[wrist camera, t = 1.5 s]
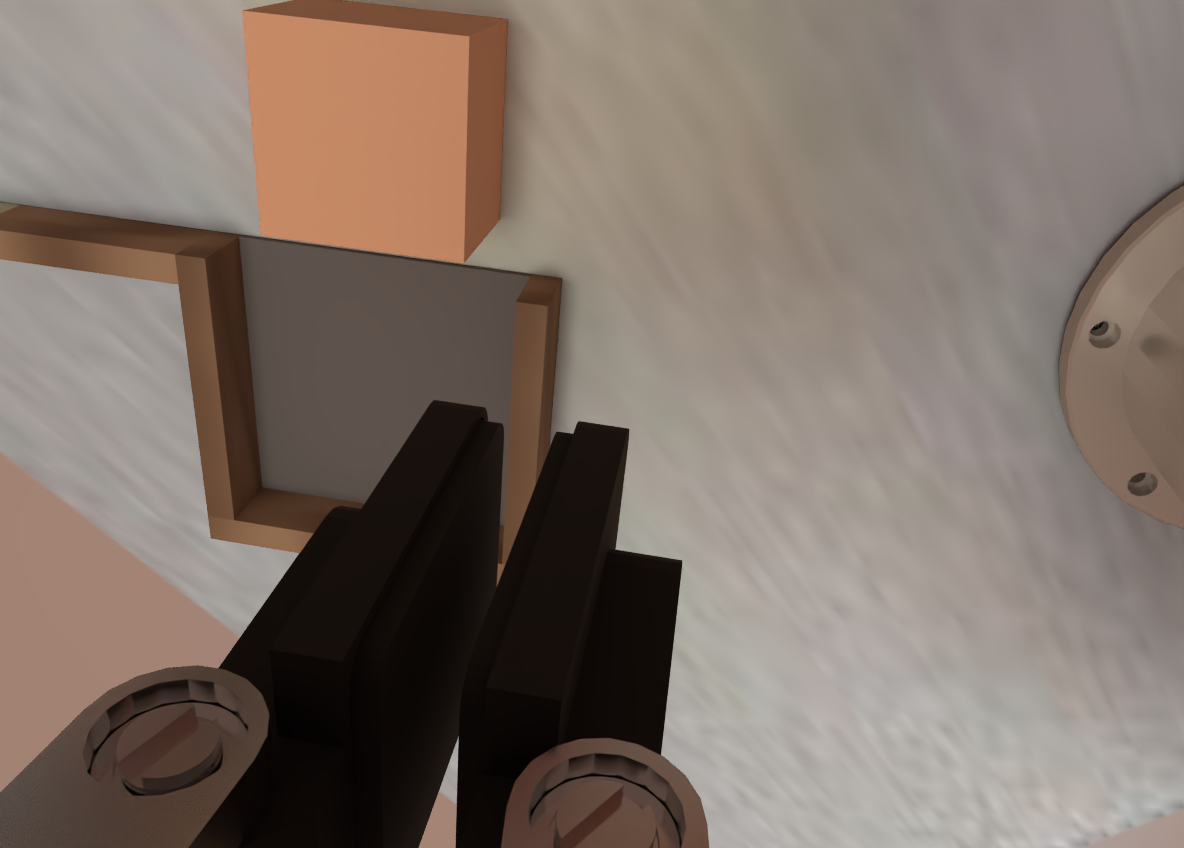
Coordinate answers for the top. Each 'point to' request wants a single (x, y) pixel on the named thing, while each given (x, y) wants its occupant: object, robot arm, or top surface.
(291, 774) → the robot arm
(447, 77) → the block
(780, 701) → the top surface
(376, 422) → the box
